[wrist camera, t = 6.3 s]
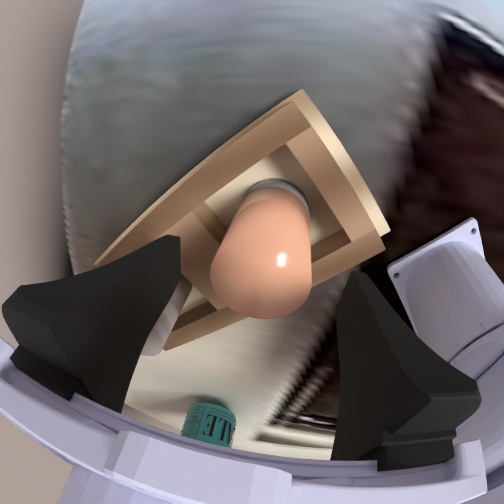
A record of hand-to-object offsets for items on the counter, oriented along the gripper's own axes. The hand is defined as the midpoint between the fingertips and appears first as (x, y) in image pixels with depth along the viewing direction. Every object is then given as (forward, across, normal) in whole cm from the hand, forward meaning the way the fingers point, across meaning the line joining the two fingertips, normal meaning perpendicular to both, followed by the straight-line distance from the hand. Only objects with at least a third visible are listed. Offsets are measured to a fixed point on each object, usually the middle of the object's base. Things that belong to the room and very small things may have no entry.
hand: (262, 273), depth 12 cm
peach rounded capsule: (+6, 0, 0) cm, 6 cm away
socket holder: (+8, +4, +4) cm, 9 cm away
